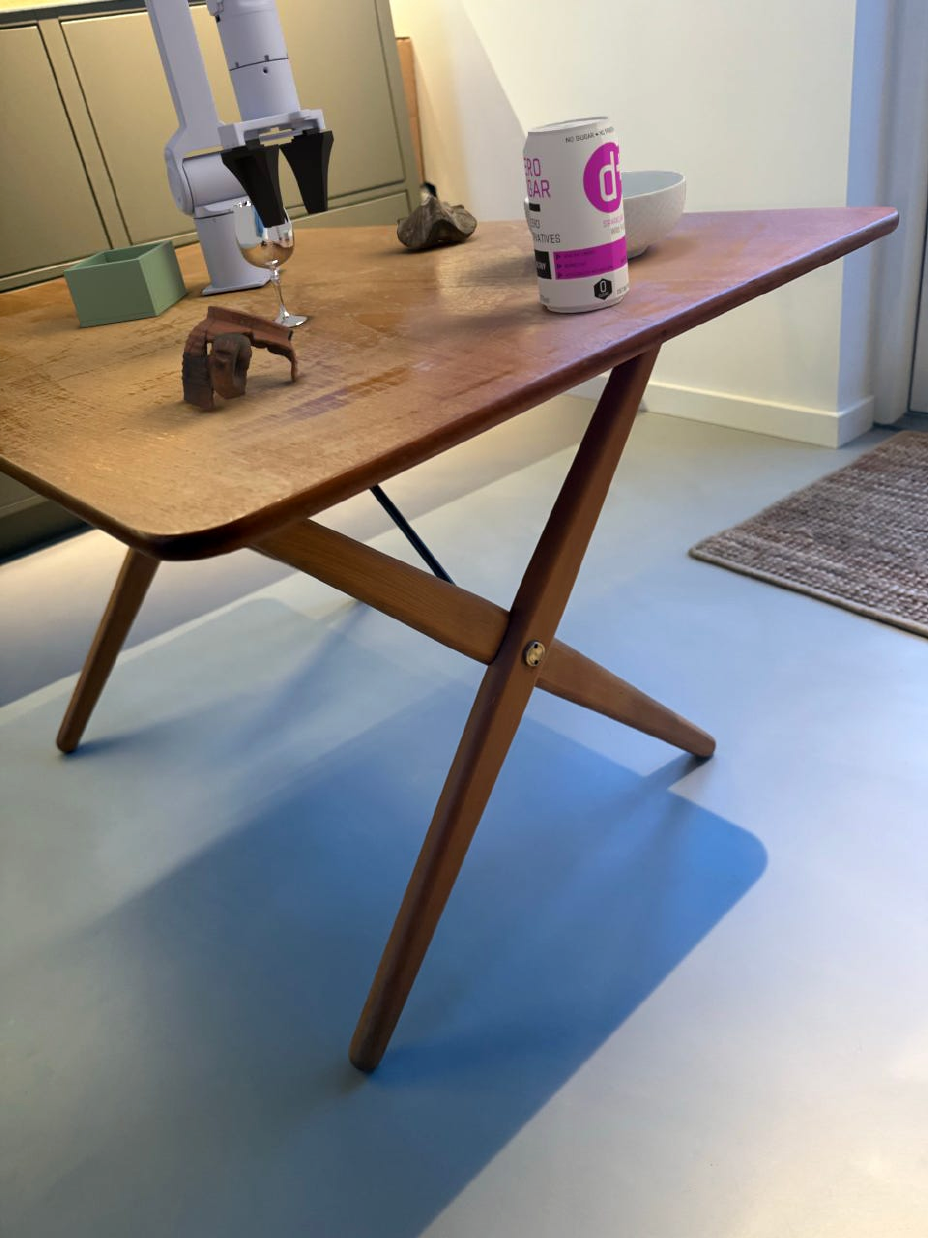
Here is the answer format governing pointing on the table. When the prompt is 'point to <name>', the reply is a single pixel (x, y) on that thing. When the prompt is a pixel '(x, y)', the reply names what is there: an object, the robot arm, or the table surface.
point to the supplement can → (577, 214)
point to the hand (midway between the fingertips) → (297, 219)
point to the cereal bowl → (646, 206)
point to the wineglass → (265, 249)
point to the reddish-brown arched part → (229, 353)
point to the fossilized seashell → (435, 224)
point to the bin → (125, 283)
